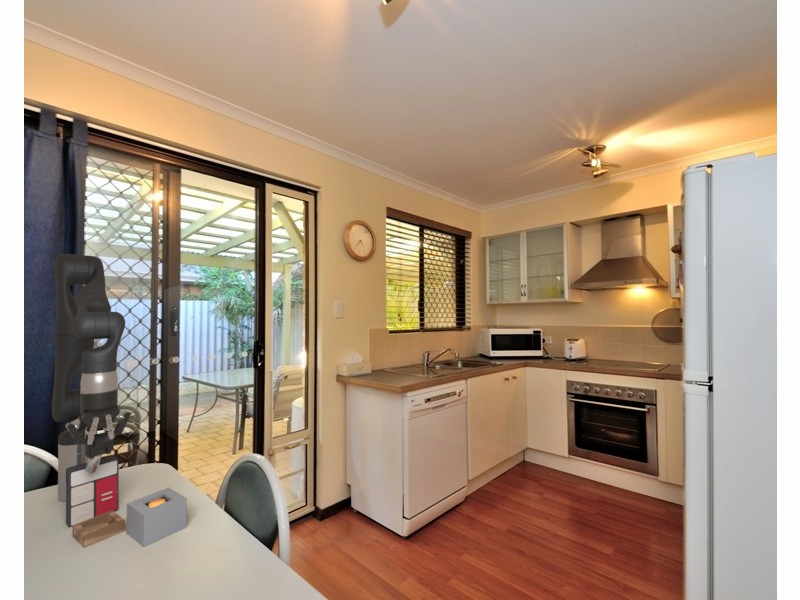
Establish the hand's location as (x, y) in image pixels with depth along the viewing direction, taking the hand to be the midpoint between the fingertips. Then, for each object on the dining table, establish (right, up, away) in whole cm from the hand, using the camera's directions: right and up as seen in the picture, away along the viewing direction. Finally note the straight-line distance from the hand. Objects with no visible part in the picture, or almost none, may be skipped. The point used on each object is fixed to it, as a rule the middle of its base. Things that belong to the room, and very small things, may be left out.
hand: (99, 455), depth 96 cm
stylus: (-5, -5, +3) cm, 8 cm away
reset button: (+14, -18, +1) cm, 23 cm away
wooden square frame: (0, -20, 0) cm, 20 cm away
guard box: (+14, -20, +1) cm, 25 cm away
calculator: (-8, -21, +8) cm, 23 cm away
